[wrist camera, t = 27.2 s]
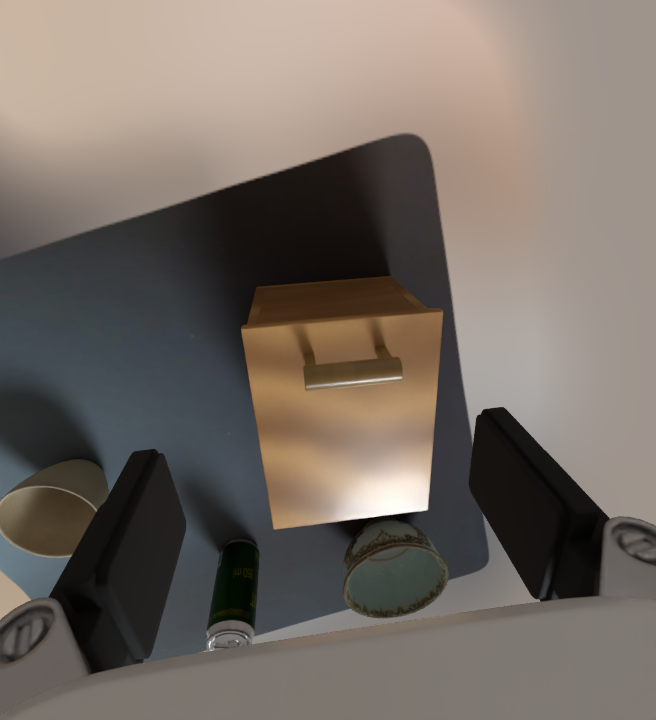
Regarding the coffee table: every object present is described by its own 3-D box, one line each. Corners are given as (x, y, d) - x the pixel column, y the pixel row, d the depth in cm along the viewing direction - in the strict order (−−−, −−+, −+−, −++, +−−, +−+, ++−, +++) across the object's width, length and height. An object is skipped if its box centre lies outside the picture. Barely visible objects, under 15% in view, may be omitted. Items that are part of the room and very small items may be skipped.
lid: (241, 324, 26) (233, 352, 21) (439, 307, 27) (468, 330, 22) (273, 522, 33) (272, 570, 29) (425, 503, 34) (444, 547, 30)
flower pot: (104, 518, 48) (76, 570, 42) (21, 484, 45) (-23, 535, 38) (143, 466, 46) (120, 513, 39) (58, 426, 42) (18, 470, 36)
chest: (256, 286, 38) (243, 335, 26) (390, 275, 39) (438, 318, 27) (276, 431, 46) (273, 522, 34) (388, 420, 46) (425, 503, 34)
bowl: (322, 514, 52) (328, 567, 45) (417, 484, 51) (438, 533, 44) (349, 574, 58) (359, 631, 51) (435, 548, 57) (456, 601, 50)
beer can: (220, 564, 54) (204, 660, 43) (220, 536, 52) (203, 630, 41) (259, 563, 55) (252, 657, 44) (260, 536, 53) (254, 628, 42)
